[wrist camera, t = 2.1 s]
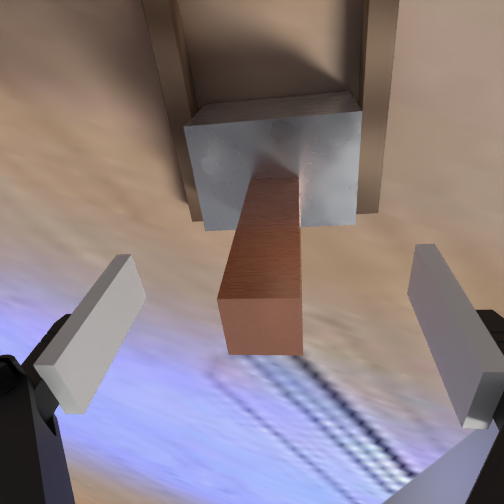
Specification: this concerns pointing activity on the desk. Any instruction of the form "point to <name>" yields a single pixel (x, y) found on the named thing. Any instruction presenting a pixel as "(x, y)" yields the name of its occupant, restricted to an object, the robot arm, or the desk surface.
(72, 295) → the desk surface
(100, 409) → the desk surface
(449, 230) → the desk surface
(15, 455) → the robot arm
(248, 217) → the mallet
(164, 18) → the frame
